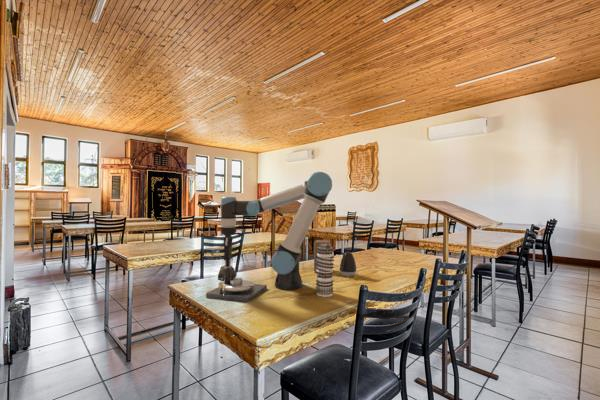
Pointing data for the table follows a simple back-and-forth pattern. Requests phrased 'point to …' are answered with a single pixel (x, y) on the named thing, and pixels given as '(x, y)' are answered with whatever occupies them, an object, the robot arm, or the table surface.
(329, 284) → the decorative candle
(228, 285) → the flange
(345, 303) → the table surface
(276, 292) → the table surface
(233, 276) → the fossil
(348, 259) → the dark grey tapered dome
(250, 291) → the clock base
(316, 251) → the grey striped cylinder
